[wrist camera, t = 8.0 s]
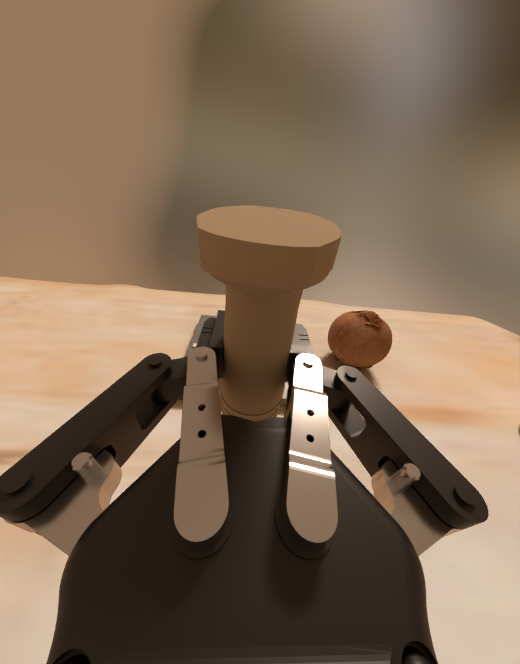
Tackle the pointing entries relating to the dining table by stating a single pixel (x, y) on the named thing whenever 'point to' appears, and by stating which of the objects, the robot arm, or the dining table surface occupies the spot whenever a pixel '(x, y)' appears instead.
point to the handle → (262, 294)
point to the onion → (360, 338)
